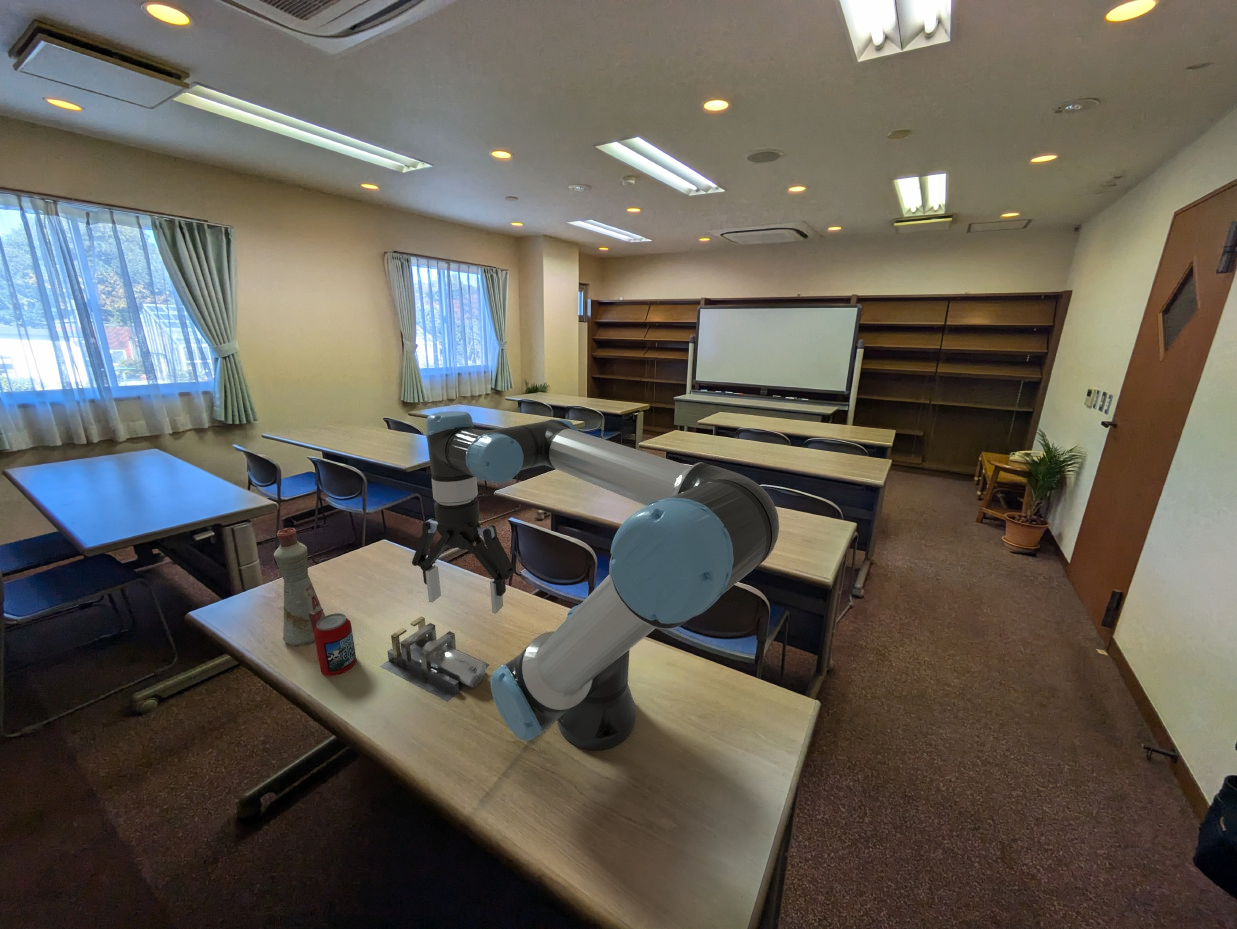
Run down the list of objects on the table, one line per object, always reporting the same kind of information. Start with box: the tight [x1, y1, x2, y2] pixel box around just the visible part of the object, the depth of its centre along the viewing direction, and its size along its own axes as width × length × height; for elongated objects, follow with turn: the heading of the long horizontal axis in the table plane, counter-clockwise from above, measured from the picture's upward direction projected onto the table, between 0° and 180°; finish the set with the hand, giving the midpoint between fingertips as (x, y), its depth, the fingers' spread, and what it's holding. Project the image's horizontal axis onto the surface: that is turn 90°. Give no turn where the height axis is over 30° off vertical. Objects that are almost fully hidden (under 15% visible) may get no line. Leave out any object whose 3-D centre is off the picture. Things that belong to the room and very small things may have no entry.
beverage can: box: [314, 612, 357, 677], centre depth 98 cm, size 7×7×12 cm
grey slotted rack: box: [379, 616, 490, 702], centre depth 100 cm, size 20×12×8 cm, turn 63°
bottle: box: [273, 527, 326, 647], centre depth 106 cm, size 9×9×28 cm
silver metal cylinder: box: [420, 640, 487, 688], centre depth 98 cm, size 14×5×5 cm, turn 63°
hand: (465, 604), depth 88 cm, fingers open, 13 cm apart
